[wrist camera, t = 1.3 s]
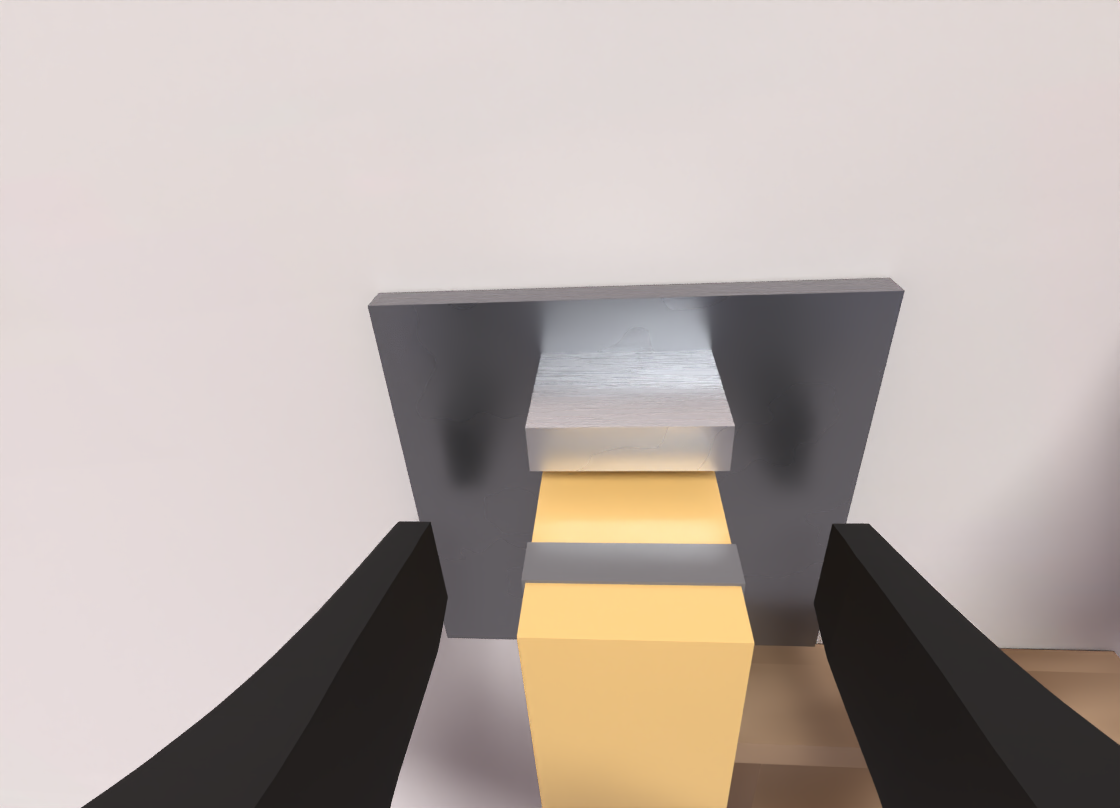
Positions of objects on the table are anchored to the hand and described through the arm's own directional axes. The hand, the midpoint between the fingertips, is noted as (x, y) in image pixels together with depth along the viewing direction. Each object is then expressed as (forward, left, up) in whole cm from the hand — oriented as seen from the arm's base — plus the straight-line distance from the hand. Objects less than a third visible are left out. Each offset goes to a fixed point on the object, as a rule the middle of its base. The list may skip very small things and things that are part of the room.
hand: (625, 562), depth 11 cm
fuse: (0, 0, -2) cm, 2 cm away
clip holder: (0, 0, -2) cm, 2 cm away
